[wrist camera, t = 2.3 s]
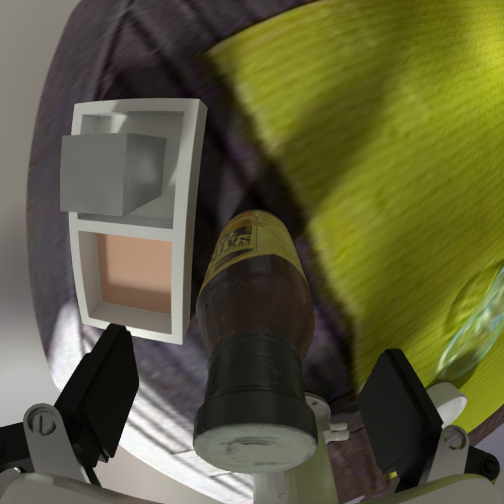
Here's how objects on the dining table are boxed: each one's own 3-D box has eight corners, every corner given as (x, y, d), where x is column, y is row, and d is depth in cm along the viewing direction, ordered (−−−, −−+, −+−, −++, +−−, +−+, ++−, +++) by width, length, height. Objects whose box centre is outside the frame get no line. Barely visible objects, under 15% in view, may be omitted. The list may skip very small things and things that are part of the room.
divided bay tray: (97, 108, 21) (75, 104, 17) (207, 107, 21) (199, 99, 17) (98, 304, 28) (82, 323, 24) (190, 321, 28) (182, 344, 25)
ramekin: (460, 387, 35) (473, 405, 30) (415, 424, 38) (424, 443, 33) (444, 367, 33) (459, 389, 28) (391, 411, 35) (401, 434, 30)
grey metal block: (166, 138, 21) (127, 132, 14) (161, 195, 23) (122, 216, 15) (115, 137, 21) (62, 135, 13) (111, 191, 23) (60, 211, 15)
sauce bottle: (241, 193, 24) (211, 342, 5) (301, 228, 25) (407, 408, 6) (207, 255, 26) (136, 454, 7) (264, 285, 27) (284, 491, 8)
